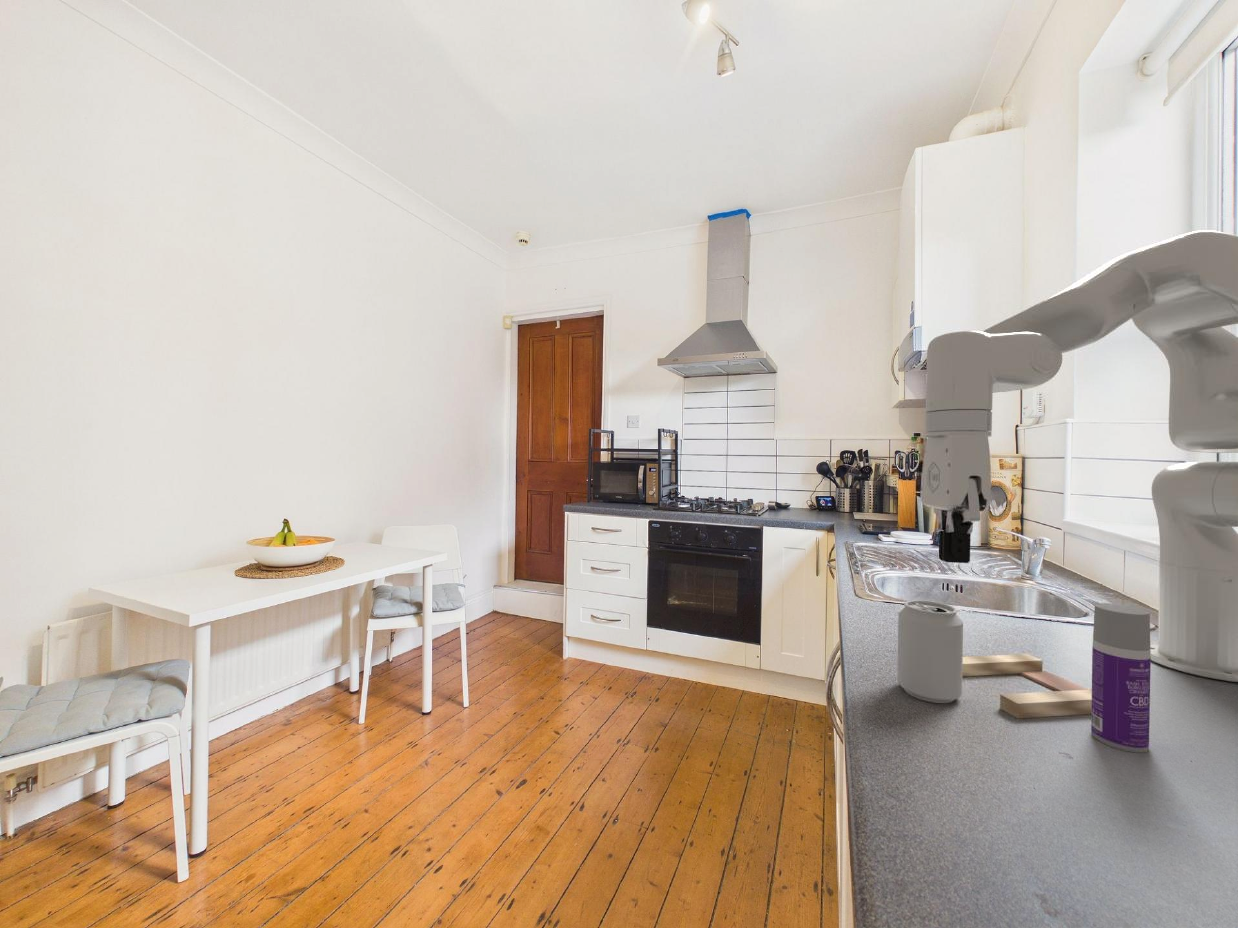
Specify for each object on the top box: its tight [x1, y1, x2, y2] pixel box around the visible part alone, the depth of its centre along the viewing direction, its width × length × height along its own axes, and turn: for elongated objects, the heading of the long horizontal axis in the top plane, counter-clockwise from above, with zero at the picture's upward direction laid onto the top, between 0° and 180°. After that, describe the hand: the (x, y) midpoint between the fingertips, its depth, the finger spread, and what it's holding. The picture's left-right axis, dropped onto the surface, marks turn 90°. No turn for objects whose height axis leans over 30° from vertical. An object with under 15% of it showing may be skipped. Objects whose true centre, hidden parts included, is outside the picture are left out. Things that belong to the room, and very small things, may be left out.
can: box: [896, 599, 964, 704], centre depth 69 cm, size 8×8×12 cm
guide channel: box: [962, 653, 1092, 719], centre depth 71 cm, size 16×14×2 cm
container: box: [1090, 602, 1152, 753], centre depth 58 cm, size 5×5×15 cm
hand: (953, 561), depth 69 cm, fingers closed
